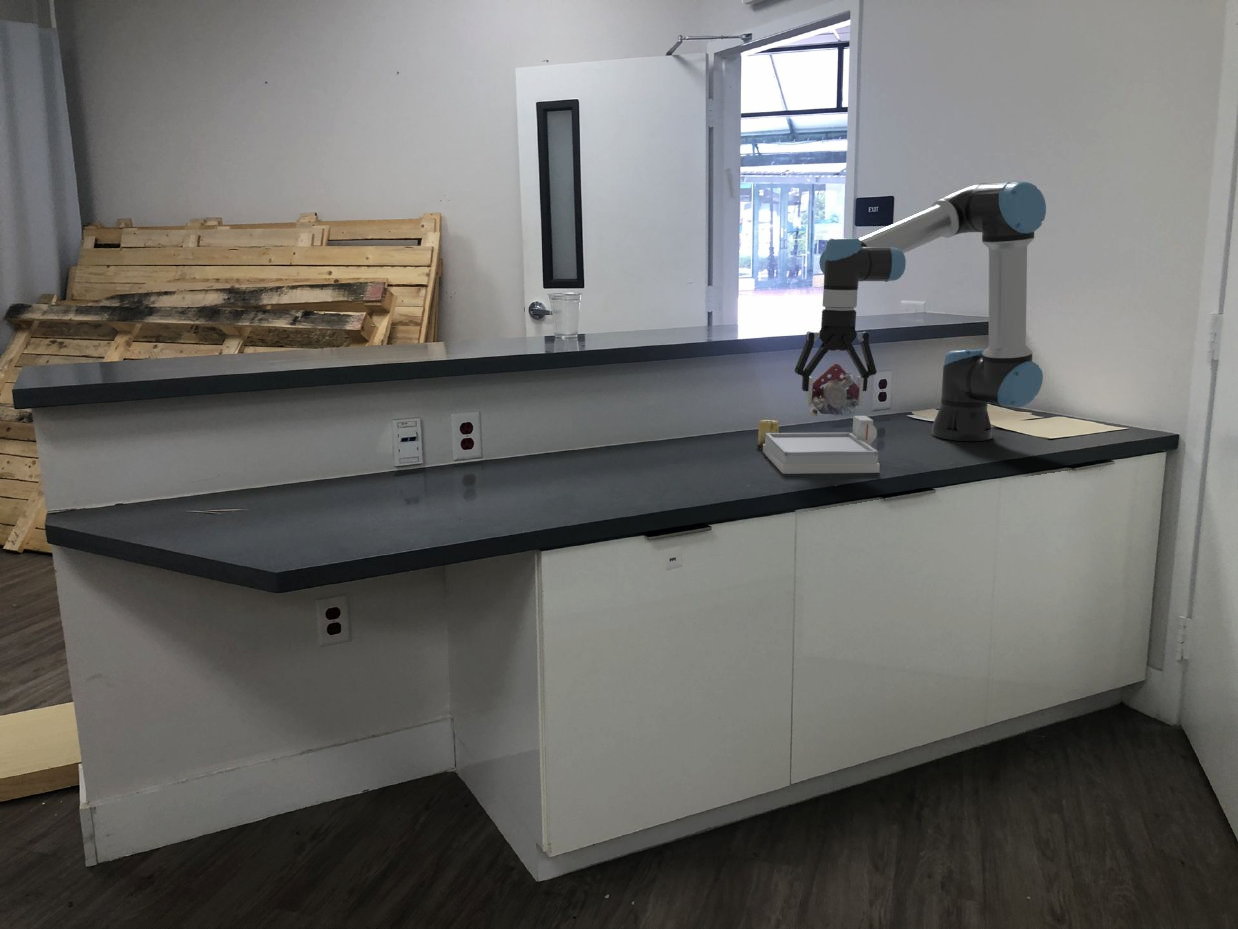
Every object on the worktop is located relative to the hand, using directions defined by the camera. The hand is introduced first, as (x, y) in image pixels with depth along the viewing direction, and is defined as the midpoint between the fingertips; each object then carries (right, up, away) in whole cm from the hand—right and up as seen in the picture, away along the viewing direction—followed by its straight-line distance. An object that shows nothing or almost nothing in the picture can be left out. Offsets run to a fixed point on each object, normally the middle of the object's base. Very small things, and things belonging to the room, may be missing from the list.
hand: (833, 405), depth 222 cm
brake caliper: (0, -2, 0) cm, 2 cm away
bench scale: (0, -13, +6) cm, 14 cm away
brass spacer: (-11, -9, +24) cm, 28 cm away
